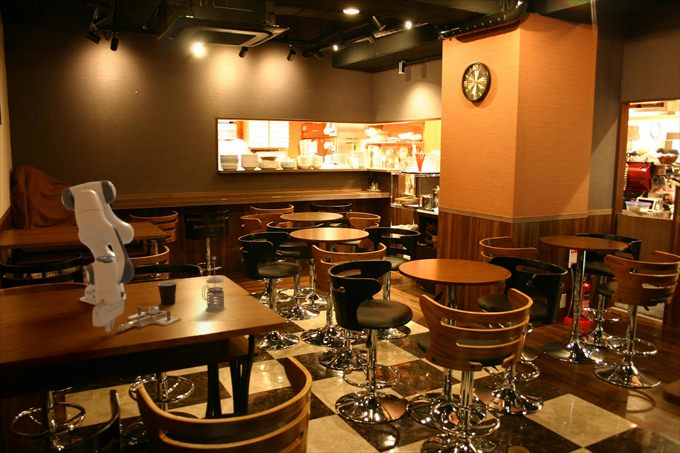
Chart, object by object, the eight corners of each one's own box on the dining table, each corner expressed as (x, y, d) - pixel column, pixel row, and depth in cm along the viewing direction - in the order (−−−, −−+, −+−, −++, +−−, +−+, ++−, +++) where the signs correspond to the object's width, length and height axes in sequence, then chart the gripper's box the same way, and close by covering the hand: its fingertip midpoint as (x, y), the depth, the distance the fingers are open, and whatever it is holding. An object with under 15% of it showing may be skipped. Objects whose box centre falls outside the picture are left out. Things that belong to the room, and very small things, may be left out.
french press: (230, 308, 261) (229, 256, 257) (209, 314, 252) (207, 260, 249) (218, 305, 267) (216, 254, 264) (197, 310, 259) (195, 257, 255)
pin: (123, 332, 227) (122, 325, 226) (117, 331, 228) (117, 324, 227) (139, 326, 235) (139, 319, 234) (134, 325, 236) (133, 318, 235)
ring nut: (146, 317, 244) (146, 307, 244) (156, 315, 247) (155, 305, 247) (151, 319, 241) (150, 309, 240) (160, 317, 244) (160, 307, 243)
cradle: (117, 323, 240) (116, 311, 239) (143, 313, 253) (142, 303, 252) (155, 329, 230) (155, 318, 229) (180, 320, 244) (180, 309, 243)
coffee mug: (172, 306, 265) (171, 286, 263) (155, 305, 266) (154, 285, 265) (183, 300, 276) (182, 280, 275) (167, 299, 278) (166, 279, 276)
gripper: (103, 304, 210) (105, 339, 212) (126, 291, 230) (128, 323, 232) (86, 304, 210) (89, 339, 212) (111, 290, 231) (113, 323, 232)
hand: (109, 330), depth 222 cm, fingers closed
